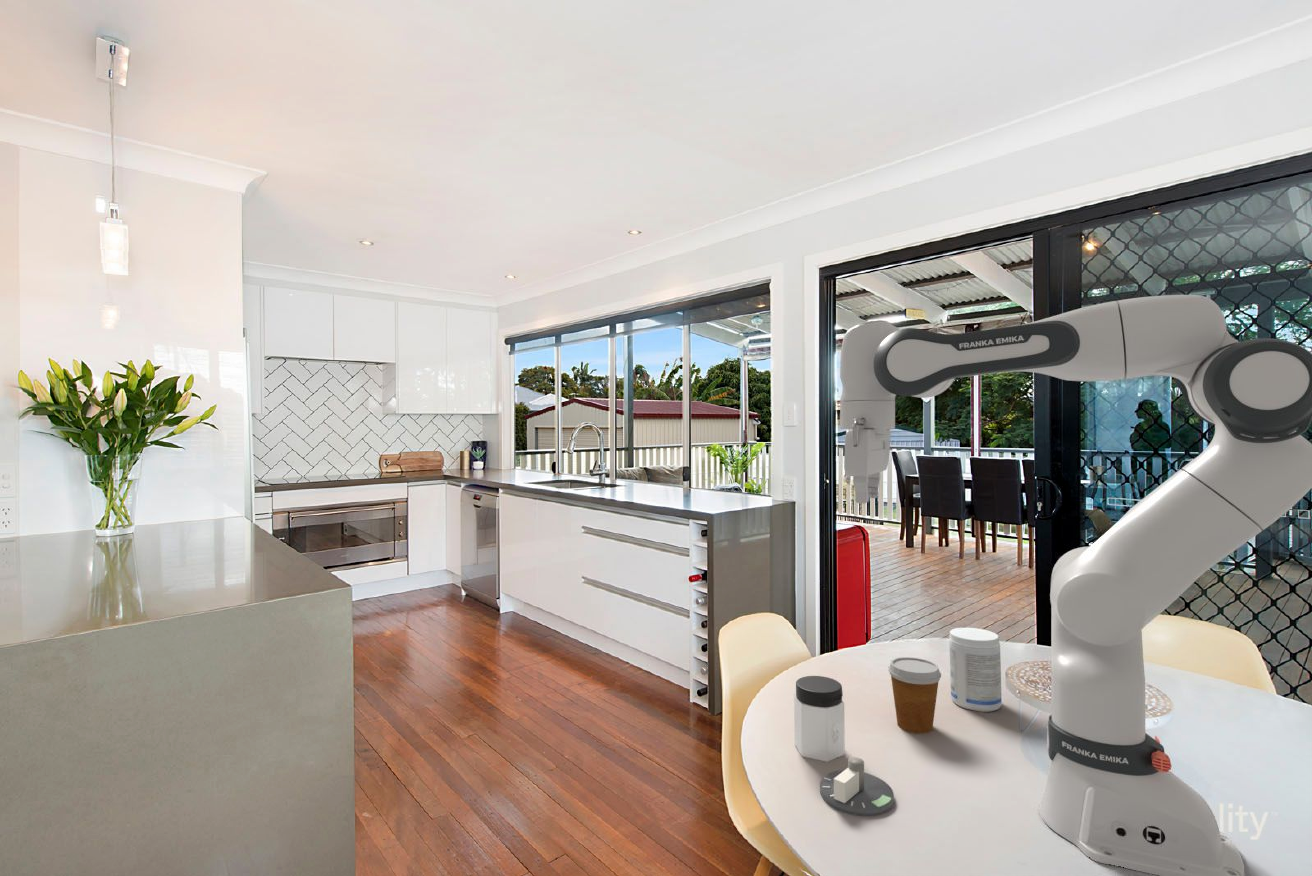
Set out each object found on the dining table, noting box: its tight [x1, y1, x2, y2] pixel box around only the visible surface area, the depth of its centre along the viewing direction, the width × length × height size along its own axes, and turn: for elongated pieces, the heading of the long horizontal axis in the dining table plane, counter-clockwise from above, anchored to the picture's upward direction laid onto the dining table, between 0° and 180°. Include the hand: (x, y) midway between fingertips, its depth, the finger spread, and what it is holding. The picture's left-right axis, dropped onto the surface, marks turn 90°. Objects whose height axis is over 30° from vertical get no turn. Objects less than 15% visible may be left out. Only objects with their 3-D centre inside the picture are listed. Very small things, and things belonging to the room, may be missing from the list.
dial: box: [819, 769, 895, 817], centre depth 99 cm, size 11×11×1 cm
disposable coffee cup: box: [887, 656, 942, 735], centre depth 123 cm, size 10×10×12 cm
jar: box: [793, 675, 846, 763], centre depth 114 cm, size 9×8×12 cm
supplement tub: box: [948, 627, 1003, 713], centre depth 133 cm, size 10×10×15 cm
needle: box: [834, 756, 865, 803], centre depth 98 cm, size 6×2×4 cm, turn 135°
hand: (867, 500), depth 108 cm, fingers open, 8 cm apart
